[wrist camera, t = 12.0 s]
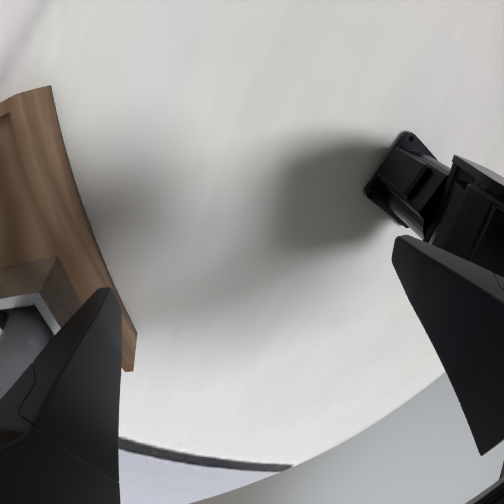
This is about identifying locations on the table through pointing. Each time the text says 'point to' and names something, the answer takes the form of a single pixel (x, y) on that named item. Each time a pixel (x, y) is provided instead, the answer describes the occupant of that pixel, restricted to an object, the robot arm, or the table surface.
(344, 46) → the table surface
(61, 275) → the frame
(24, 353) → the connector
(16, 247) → the box
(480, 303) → the robot arm
